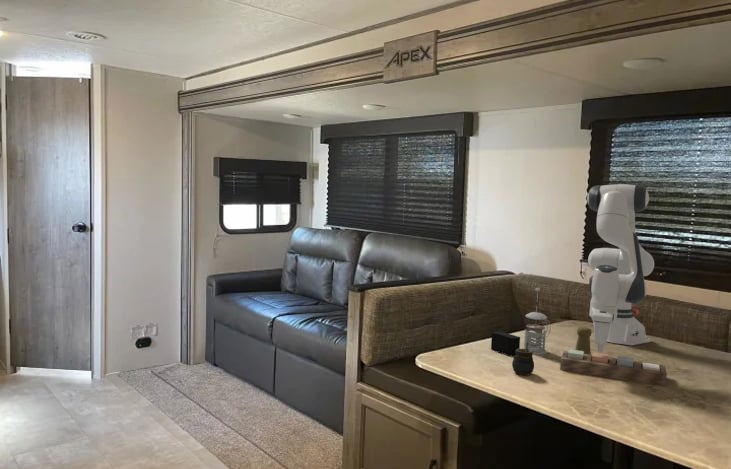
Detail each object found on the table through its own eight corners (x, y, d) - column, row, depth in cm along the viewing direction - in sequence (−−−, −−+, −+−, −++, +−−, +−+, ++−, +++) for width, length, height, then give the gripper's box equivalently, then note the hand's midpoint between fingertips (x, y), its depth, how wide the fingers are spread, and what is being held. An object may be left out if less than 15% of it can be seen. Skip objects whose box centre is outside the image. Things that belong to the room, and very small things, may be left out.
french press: (515, 348, 227) (519, 285, 225) (539, 346, 232) (543, 284, 230) (532, 355, 218) (536, 290, 216) (556, 353, 223) (560, 289, 221)
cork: (592, 358, 217) (594, 330, 216) (575, 357, 218) (577, 328, 217) (589, 354, 223) (591, 326, 222) (573, 352, 224) (575, 324, 223)
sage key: (567, 359, 204) (567, 352, 203) (568, 355, 208) (569, 349, 208) (582, 361, 202) (583, 354, 201) (583, 358, 206) (583, 351, 206)
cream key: (642, 373, 194) (643, 366, 194) (642, 369, 198) (642, 362, 198) (659, 376, 192) (659, 368, 192) (658, 372, 196) (658, 364, 196)
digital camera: (521, 354, 219) (522, 336, 219) (512, 356, 216) (513, 338, 216) (500, 347, 228) (501, 330, 227) (490, 349, 224) (491, 332, 224)
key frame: (560, 369, 202) (560, 358, 202) (563, 361, 212) (563, 350, 212) (665, 386, 188) (666, 374, 188) (663, 376, 198) (664, 365, 198)
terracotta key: (591, 363, 200) (592, 356, 200) (592, 359, 205) (593, 352, 205) (607, 365, 198) (607, 358, 198) (607, 361, 203) (608, 354, 203)
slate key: (616, 366, 197) (617, 359, 197) (617, 362, 202) (617, 355, 201) (632, 369, 195) (633, 361, 195) (632, 365, 200) (633, 358, 199)
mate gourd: (510, 374, 194) (512, 345, 194) (512, 368, 201) (514, 340, 201) (532, 378, 192) (534, 348, 191) (534, 371, 199) (536, 343, 198)
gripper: (595, 306, 211) (592, 343, 212) (591, 316, 192) (588, 357, 193) (613, 308, 208) (611, 345, 209) (612, 318, 190) (609, 360, 191)
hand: (600, 351), depth 201 cm, fingers closed
